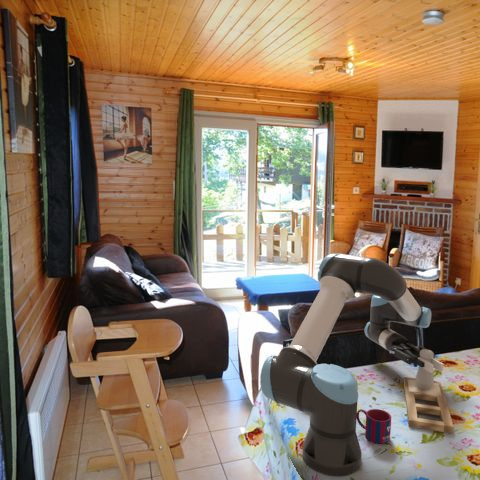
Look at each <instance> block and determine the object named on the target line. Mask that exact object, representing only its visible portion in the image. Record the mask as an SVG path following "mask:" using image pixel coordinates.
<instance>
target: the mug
mask: <svg viewBox="0 0 480 480" xmlns="http://www.w3.org/2000/svg"><path fill="white" fill-rule="evenodd" d="M360 412H362V413H363V414H364V416H365V425H364V424H363V423H362V421H361V419H360ZM356 422H357V424H358V425H359V426H360V427H361V428H362V429H364V431H365V432H364V433H365V434H364V437H365V438H366V440H367V441H368V442H369V443H373V444H375V445H387V444H388V443H390V442H391V441H390V440H391V430H392V428H391V427H392V414H390V413H389V412H388V411H386V410H383V409H378V408H371V409H368V410H367V411H366V410H365V409H361V408H360V409H359V410H358V409H357V418H356Z"/></svg>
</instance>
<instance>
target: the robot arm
mask: <svg viewBox="0 0 480 480" xmlns="http://www.w3.org/2000/svg"><path fill="white" fill-rule="evenodd" d="M318 269H319V270H318V271H317V280H318V281H317V282H318V285H319V288H320V290H319V291H318V293H317V295H316V297H315V298H314V300H313V303H312V304H311V306H310V308H309V310H308V311H307V314H306V315H305V317H304V319H303V321H302V322H301V324H300V326H299V328H298V329H297V332H296V334H295V335H294V337H293V339H292V341H291V343H289V346H284V347H282V348H281V350H280V352H279V353H278V355H270V356H268V357H266V359H265V360H264V362H263V364H262V367H261V370H260V376H259V379H260V380H259V381H260V383H259V384H260V389H261V391H262V394H263V396H264V397H265V398H267V399H269V400H270V401H274V402H275V403H276V404H281V405H283V406H286V407H289V408H292V409H295V410H296V411H297V410H298V411H300V412H302V413H306V414H308V415H309V428H308V430H307V433H306V435H305V438H304V440H303V443H302V448H301V449H302V453H301V455H302V458H303V460H304V462H305V464H306V465H308V466H309V467H310V468H311V469H313V470H314V471H316V472H319V473H322V474H324V475H330V476H336V477H338V476H346V475H350V474H353V473H356V471H358V470H359V469H360V468H361V465H362V460H363V459H362V458H363V457H362V456H363V455H362V454H363V453H362V448H361V446H360V442H359V439H358V438H359V437H358V436H357V412H358V400H359V392H358V390H359V389H358V386H359V385H358V380H357V379H356V377H355V376H354V374H353V373H352V372H351V371H349V370H348V369H347V368H345V367H342V366H340V365H336V364H333V363H330V364H328V363H320V364H319V363H317V361H318V359H319V356H320V355H321V353H322V350H323V348H324V346H325V345H326V342H327V341H328V338H329V337H330V334H331V333H332V330H333V328H334V326H335V324H336V323H337V320H338V318H339V316H340V313H341V312H342V311H343V308H344V306H345V305H346V303H347V302H351V301H352V300H353V299H354V297H355V295H356V293H358V294H363V295H369V296H370V295H371V296H372V297H371V302H370V313H369V314H370V315H369V316H370V317H369V318H370V319H369V321H368V322H367V323H366V325H365V326H364V335H365V336H366V337H367V338H368V339H369V340H370V341H372V342H374V343H376V344H377V345H379V346H380V347H381V348H383V349H385V351H386V350H387V351H388V352H389V355H390V356H392V357H395V358H396V359H398V360H400V361H401V362H403V363H406V364H407V365H413V367H415V368H417V367H419V366H420V367H422V368H423V369H425V370H427V371H428V372H430V373H433V374H434V369H435V370H437V371H438V372H440V373H442V372H444V363H442V362H441V361H439V360H438V359H435V358H436V357H435V355H436V354H435V353H433V354H434V356H433V359H431V360H432V364H431V363H429V362H428V361H426V360H424V359H423V358H421V357H420V351H421V350H422V349H426V348H425V347H424V346H423V345H422V344H420V343H419V344H418V345H417V346H416V345H414V344H412V343H410V342H409V340H408V339H407V338H406V337H405V336H403V335H402V334H400V333H398V332H397V331H394V330H392V329H391V328H390V327H391V322H393V323H398V324H401V325H402V324H404V325H407V326H411V327H417V328H423V329H426V328H429V327H430V324H431V321H432V310H431V308H428V307H425V306H420V305H419V303H418V302H417V300H416V299H415V298H414V296H413V295H412V293H411V292H410V291H409V289H408V284H407V281H406V279H405V277H404V276H403V274H401V272H400V271H398V270H397V269H396V268H395V267H393V266H392V265H390V264H388V263H387V262H385V261H383V260H382V259H378V258H375V257H367V256H358V255H352V254H351V255H350V254H345V253H330V254H327V255H326V256H325V257H324V258H323V259H322V261H321V262H320V264H319V267H318Z"/></svg>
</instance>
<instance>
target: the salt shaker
mask: <svg viewBox="0 0 480 480" xmlns="http://www.w3.org/2000/svg"><path fill="white" fill-rule="evenodd" d="M434 354H435V353H434V352H433V351H432V350H430V349H428V348H425V349H422V350H421V351H420V357H421V358H423V359H424V360H426V361H428V362H429V363H431V364H432V360H431V359H433V356H434ZM415 375H416V376H415V377H414V378H415V380H416V383H417V385H418V388H421V389H423V390H429V389H430V388H431V387H432V385H433V383H434V381H435V379H434V377H435V376H434V372H433V373H430V372H428V371H427V370H425V369H423V368H422V367H420V366H418V369H417V373H416V374H415Z"/></svg>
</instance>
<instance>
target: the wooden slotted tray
mask: <svg viewBox="0 0 480 480" xmlns="http://www.w3.org/2000/svg"><path fill="white" fill-rule="evenodd" d="M415 378H416V377H408V376H404V377H403V386H404V395H405V396H404V398H405V404H406V406H405V408H406V415H407V424H408V425H407V426H408V427H411V428H418V429H423V430H430V431H436V432H443V433H449V434H454V430H455V429H454V424H453V420H452V416H451V413H450V409H449V405H448V402H447V399H446V395H445V393H444V389H443V385H442V384H443V383H442V381H436V380H434V383H433V385H432V387H431V388H430V389H429V390H423V389H421V388H418V385H417V383H416V380H415Z"/></svg>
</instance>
